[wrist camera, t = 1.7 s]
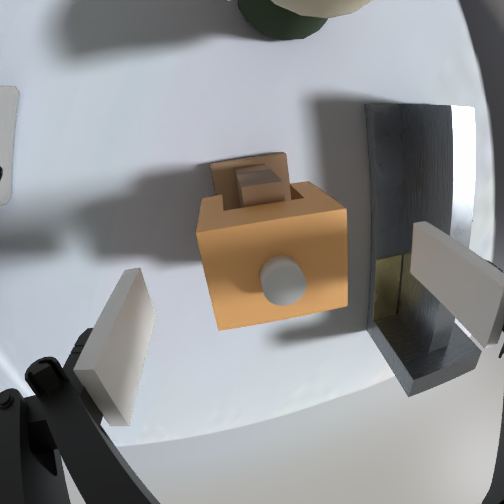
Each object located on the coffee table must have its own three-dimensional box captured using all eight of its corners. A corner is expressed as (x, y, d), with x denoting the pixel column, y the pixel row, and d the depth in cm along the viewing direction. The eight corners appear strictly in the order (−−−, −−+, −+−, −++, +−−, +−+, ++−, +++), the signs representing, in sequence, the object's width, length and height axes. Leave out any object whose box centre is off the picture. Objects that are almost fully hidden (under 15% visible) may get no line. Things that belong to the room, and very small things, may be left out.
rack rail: (366, 330, 28) (408, 397, 20) (364, 104, 20) (441, 104, 12) (426, 313, 29) (474, 368, 20) (437, 105, 20) (518, 113, 12)
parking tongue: (229, 268, 24) (235, 322, 18) (210, 163, 21) (207, 182, 15) (294, 257, 24) (320, 306, 18) (283, 152, 21) (312, 166, 15)
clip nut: (217, 273, 20) (219, 346, 14) (201, 198, 18) (193, 244, 12) (314, 256, 21) (356, 319, 14) (309, 181, 19) (357, 217, 12)
